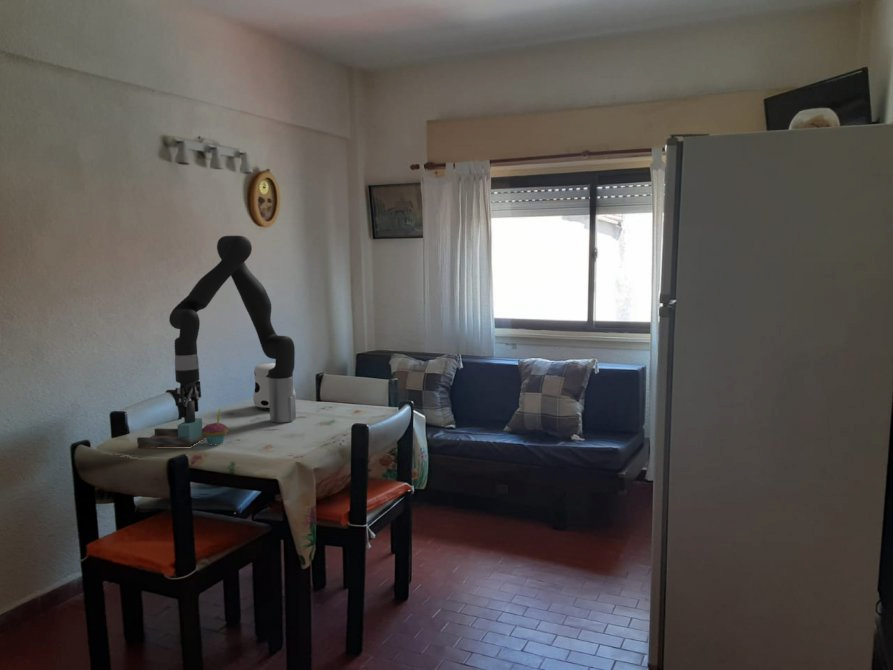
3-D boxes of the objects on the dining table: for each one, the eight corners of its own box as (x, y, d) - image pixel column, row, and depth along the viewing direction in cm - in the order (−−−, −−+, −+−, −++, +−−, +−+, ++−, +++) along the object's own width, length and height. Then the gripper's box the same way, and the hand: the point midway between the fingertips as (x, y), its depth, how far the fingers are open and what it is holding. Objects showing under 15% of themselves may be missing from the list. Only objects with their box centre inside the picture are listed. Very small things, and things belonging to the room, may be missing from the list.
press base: (206, 438, 232) (205, 428, 231) (190, 448, 219) (189, 438, 219) (156, 438, 233) (155, 428, 233) (137, 448, 220) (137, 438, 220)
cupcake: (230, 439, 230) (228, 406, 229) (226, 446, 222) (224, 411, 220) (204, 441, 229) (202, 407, 227) (199, 447, 220) (197, 412, 219)
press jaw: (202, 435, 230) (200, 398, 229) (190, 442, 220) (187, 404, 219) (191, 434, 231) (189, 398, 229) (178, 442, 221) (176, 404, 219)
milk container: (291, 412, 271) (289, 368, 269) (248, 412, 271) (246, 369, 269) (299, 402, 288) (298, 362, 286) (260, 403, 288) (258, 362, 286)
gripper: (188, 371, 215) (191, 419, 217) (206, 364, 230) (209, 409, 231) (166, 371, 216) (168, 419, 218) (185, 364, 230) (188, 409, 232)
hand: (189, 414), depth 225 cm, fingers open, 8 cm apart
